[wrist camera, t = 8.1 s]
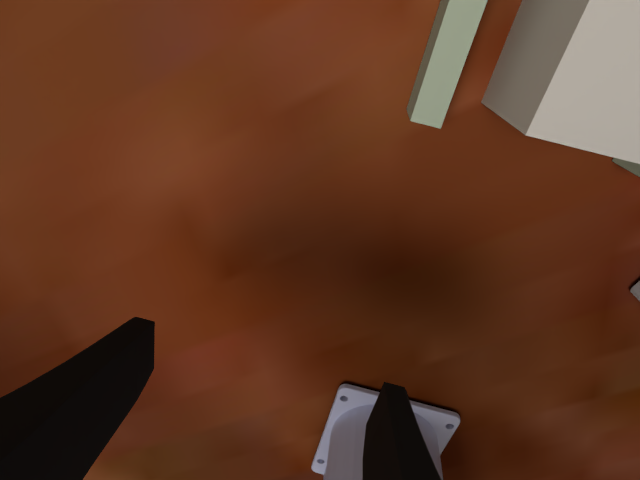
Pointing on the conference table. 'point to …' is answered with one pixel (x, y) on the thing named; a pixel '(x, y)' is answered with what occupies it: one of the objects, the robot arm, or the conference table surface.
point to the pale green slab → (452, 64)
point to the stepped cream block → (573, 75)
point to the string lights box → (636, 290)
